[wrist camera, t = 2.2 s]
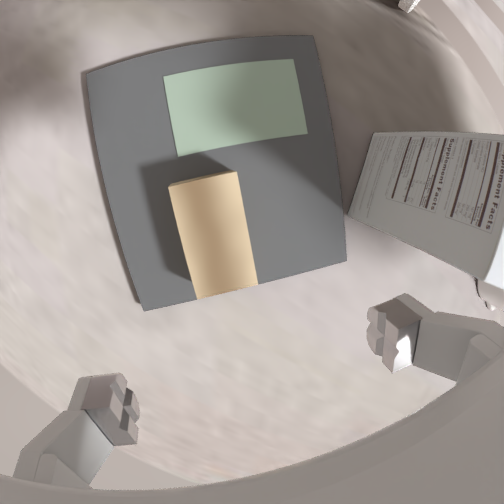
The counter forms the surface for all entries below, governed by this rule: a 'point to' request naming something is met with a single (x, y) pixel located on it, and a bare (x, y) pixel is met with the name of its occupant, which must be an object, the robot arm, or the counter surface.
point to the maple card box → (214, 233)
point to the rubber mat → (220, 154)
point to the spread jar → (407, 5)
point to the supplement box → (438, 196)
